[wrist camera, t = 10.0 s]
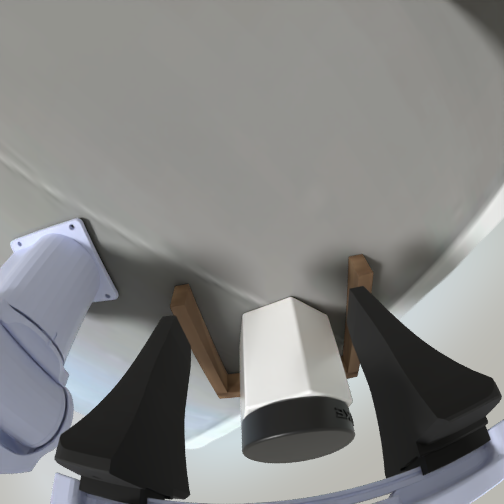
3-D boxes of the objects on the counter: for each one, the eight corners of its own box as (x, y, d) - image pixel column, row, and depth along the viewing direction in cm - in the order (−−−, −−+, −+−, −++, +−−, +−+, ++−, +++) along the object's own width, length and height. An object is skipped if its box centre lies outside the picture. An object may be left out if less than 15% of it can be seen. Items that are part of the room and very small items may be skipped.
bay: (219, 380, 31) (219, 398, 29) (174, 286, 23) (169, 307, 21) (351, 359, 30) (357, 376, 28) (362, 254, 22) (373, 272, 20)
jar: (312, 357, 30) (333, 459, 20) (236, 357, 29) (238, 466, 19) (336, 296, 25) (377, 419, 15) (242, 293, 24) (248, 431, 14)
